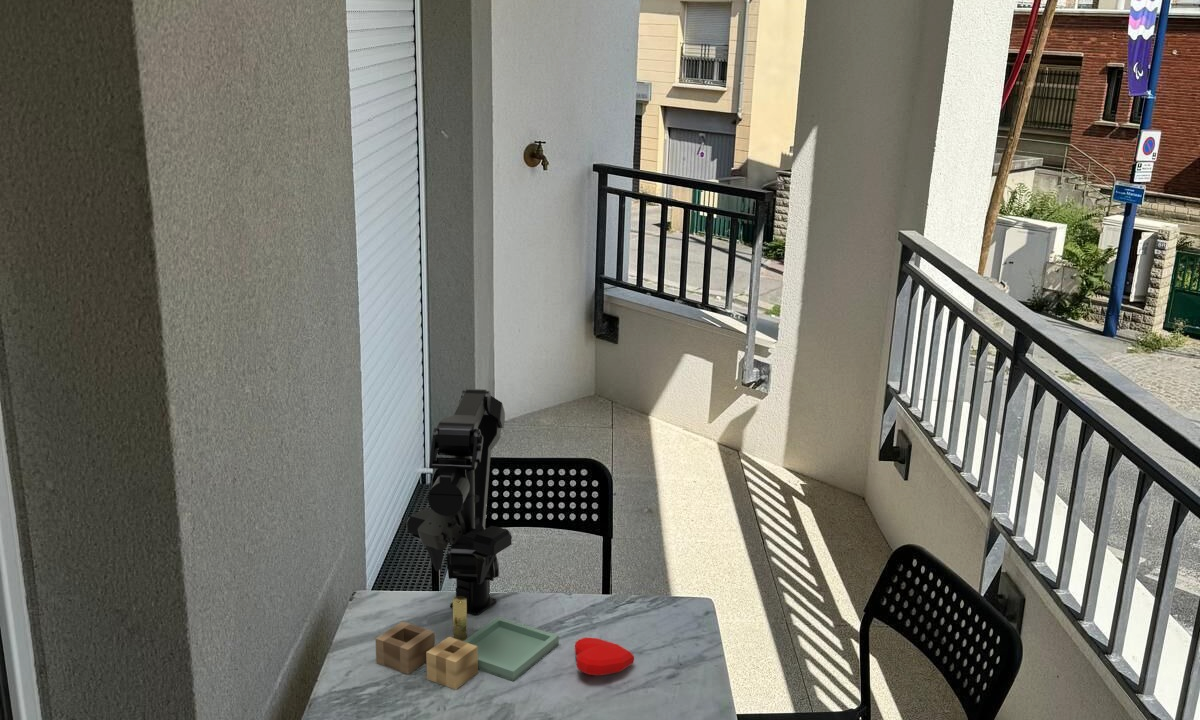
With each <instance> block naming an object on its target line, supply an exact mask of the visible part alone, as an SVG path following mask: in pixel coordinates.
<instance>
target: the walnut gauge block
mask: <svg viewBox="0 0 1200 720" xmlns="http://www.w3.org/2000/svg"><path fill="white" fill-rule="evenodd" d="M435 646H436V643H435V631H433V630H430V629H427V628H424V627H420V626H418V625H414V624H412V623H408V622H406V621H403V620H402V621H401V622H399V623H398V624H396V625H395V626H392V627H391V628H389V629H388V630H387V631H385V632H383V633H382V634H381V635H379V636H377V637H375V660H376V664H378V665H381V666H384V667H387V668H389V669H392V670H395V671H397V672H400V673H403V674H406V675H410V674H411V673H413V672H414V671H416V670H417V669H419V668H420V667H422V666H423V665H424V664H427V660H426V652H427V651H429V650H430V649H432V648H433V647H435Z"/></svg>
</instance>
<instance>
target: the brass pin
mask: <svg viewBox="0 0 1200 720" xmlns="http://www.w3.org/2000/svg"><path fill="white" fill-rule="evenodd" d="M452 602H453V608H452V627H453V628H452V629H453V630H452V632H453V633H452V635H453V637H452V638H455V639H458V640H461V641H464V640H466V639H467V638H468V623H467V622H468V616H467V615H468V612H467V599H466V598H465V597H462V596H459V597H456V596H455V597H453V598H452Z"/></svg>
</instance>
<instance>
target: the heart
mask: <svg viewBox="0 0 1200 720" xmlns="http://www.w3.org/2000/svg"><path fill="white" fill-rule="evenodd" d="M574 652H575V655H576V668H577V669H578V670H579V671H580V672H582V673H584V674H586V675H588V676H589V675H590V676H591V675H592V676H604V675H610V674H615V673H616V674H617V673H620V672H621V671H623V670H625V669H627V668H628V667H629V666H631V665H633V664H634V662H635V656H634V654H633V653H631V651H629V650H628V649H625V648H624V647H622V646H621V645H620V644H617V643H614V642H610V641H607V640H603V639H601V638H596V637H588V636H587V637H582V638H581V639H577V641H575V644H574Z"/></svg>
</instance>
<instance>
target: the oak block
mask: <svg viewBox="0 0 1200 720" xmlns="http://www.w3.org/2000/svg"><path fill="white" fill-rule="evenodd" d="M426 660H427V662H426V680H429V681H431V682H433V683H436V684H439V685H442V686H444V687H448V688H450V689H453V690H458V689H459V688H460V687H461V686H463V685H464V684H466V683H467V682H468V681H470V680H471V679H472V678H473V677H475V676H476V675H477V674H478V673H479V669H478V646H475V645H472V644H469V643H466V642H463V641H461V640H458V639H455V638H453V637H452V636H448V637H446V638H445V639H443V640H441V642H438V644H435V647H433V648H432V649H430V650H429V651H427V652H426Z"/></svg>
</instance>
